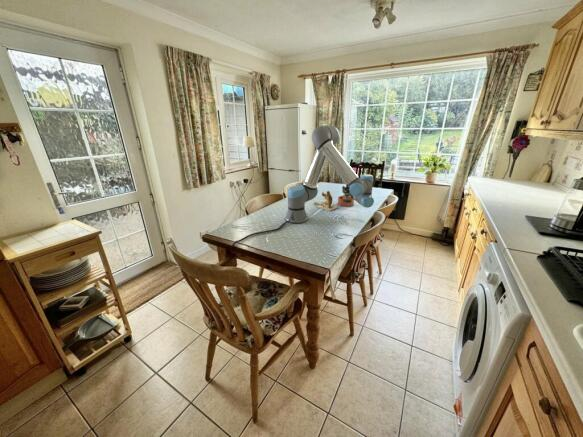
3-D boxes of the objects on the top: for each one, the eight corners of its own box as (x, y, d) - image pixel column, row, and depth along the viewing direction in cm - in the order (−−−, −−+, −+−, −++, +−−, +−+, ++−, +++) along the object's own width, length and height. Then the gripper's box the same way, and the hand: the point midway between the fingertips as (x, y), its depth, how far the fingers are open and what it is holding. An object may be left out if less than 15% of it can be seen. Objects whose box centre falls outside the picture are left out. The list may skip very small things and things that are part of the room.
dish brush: (351, 202, 173) (352, 181, 167) (345, 203, 172) (347, 181, 166) (348, 200, 178) (349, 179, 173) (342, 200, 178) (343, 179, 172)
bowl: (343, 207, 189) (344, 201, 187) (334, 203, 200) (334, 196, 198) (357, 205, 194) (357, 198, 192) (347, 201, 205) (347, 194, 203)
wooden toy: (338, 208, 187) (339, 191, 182) (329, 211, 181) (330, 194, 176) (319, 202, 204) (320, 186, 199) (310, 204, 198) (311, 188, 193)
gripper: (346, 202, 156) (334, 192, 177) (368, 200, 158) (354, 191, 180) (347, 191, 153) (335, 183, 175) (369, 189, 155) (355, 182, 177)
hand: (344, 187), depth 177 cm, fingers closed on dish brush, 3 cm apart
